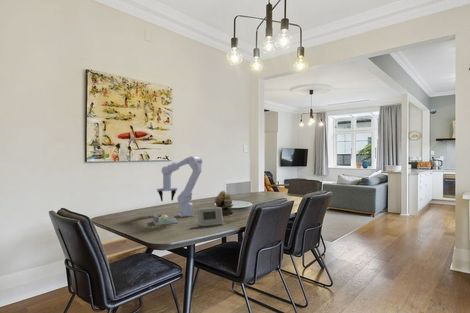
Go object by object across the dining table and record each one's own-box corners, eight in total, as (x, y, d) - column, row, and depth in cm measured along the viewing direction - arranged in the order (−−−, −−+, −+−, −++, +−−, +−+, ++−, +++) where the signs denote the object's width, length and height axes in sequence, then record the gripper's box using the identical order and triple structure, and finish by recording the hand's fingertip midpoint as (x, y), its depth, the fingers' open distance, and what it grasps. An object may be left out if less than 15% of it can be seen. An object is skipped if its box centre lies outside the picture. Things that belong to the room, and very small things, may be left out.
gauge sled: (166, 219, 192) (166, 212, 191) (168, 220, 187) (168, 214, 187) (158, 220, 189) (158, 213, 189) (159, 221, 185) (159, 215, 185)
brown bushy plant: (237, 213, 218) (237, 190, 218) (226, 216, 210) (226, 192, 209) (220, 209, 230) (221, 188, 230) (209, 212, 222) (210, 190, 221)
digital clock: (198, 227, 177) (198, 210, 177) (197, 223, 186) (197, 207, 186) (224, 226, 181) (224, 209, 181) (221, 222, 190) (222, 206, 189)
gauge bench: (173, 219, 197) (173, 212, 197) (177, 223, 187) (177, 215, 187) (152, 221, 191) (152, 213, 191) (155, 225, 181) (155, 217, 181)
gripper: (175, 181, 222) (175, 199, 222) (156, 182, 215) (156, 200, 216) (177, 182, 215) (177, 200, 215) (157, 183, 209) (157, 202, 209)
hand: (167, 200), depth 215 cm, fingers open, 7 cm apart
